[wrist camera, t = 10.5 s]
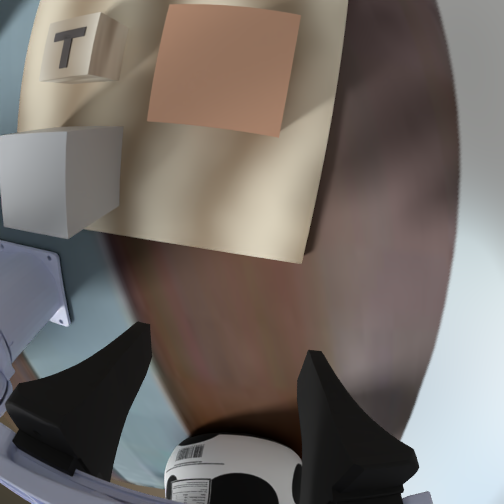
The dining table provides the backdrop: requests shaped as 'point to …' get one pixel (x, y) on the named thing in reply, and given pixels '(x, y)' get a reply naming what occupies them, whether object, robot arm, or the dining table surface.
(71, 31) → the letter cube
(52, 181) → the grey cover
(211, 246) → the birch board
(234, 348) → the dining table surface
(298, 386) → the robot arm
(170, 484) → the milk container
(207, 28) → the terracotta cover
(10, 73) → the dining table surface
